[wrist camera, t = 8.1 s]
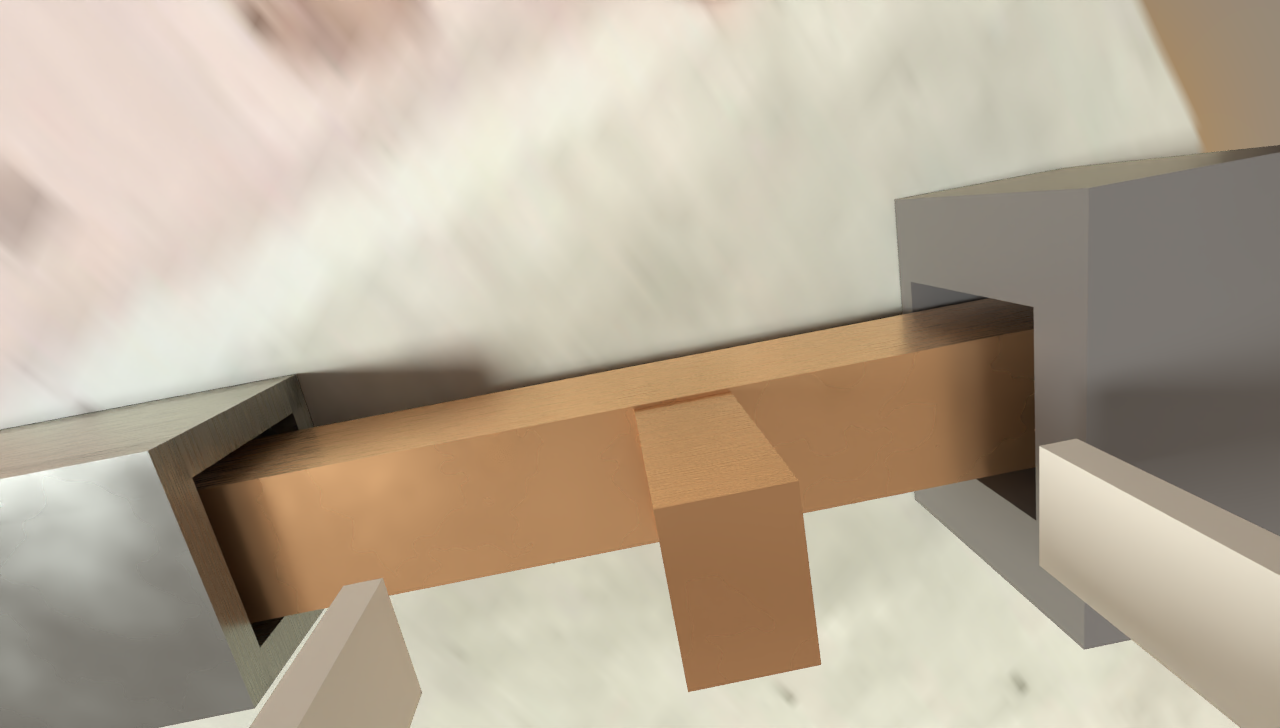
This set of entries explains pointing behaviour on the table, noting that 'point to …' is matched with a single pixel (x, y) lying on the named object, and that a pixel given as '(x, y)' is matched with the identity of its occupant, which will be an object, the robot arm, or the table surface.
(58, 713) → the sleeve
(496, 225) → the table surface
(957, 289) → the socket block
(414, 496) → the orange-brown sliding bolt
